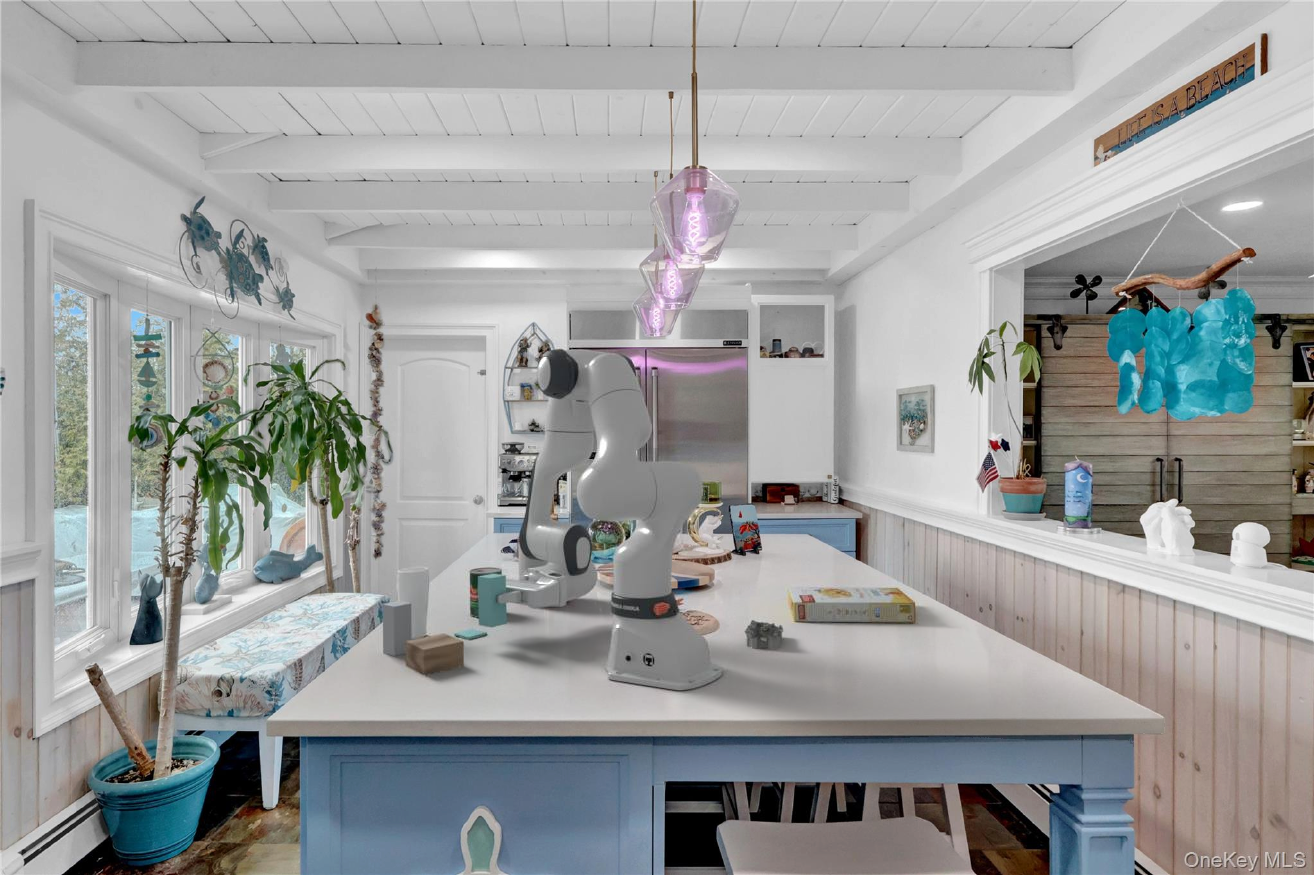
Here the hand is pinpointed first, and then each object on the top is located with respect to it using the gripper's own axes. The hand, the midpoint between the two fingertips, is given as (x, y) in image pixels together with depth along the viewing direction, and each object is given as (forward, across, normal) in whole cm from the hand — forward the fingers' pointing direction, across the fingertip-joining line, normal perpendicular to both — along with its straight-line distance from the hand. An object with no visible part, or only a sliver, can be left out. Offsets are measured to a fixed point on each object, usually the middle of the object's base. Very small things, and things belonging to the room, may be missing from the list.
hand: (488, 598), depth 152 cm
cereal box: (-73, +46, +12) cm, 87 cm away
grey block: (+12, -15, +11) cm, 22 cm away
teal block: (-1, 0, +6) cm, 6 cm away
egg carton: (-39, +42, +12) cm, 59 cm away
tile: (-5, -13, +10) cm, 17 cm away
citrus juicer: (-38, -24, +10) cm, 46 cm away
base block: (+13, -1, +11) cm, 17 cm away
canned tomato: (-20, -26, +10) cm, 34 cm away
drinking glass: (+3, -22, +10) cm, 25 cm away
